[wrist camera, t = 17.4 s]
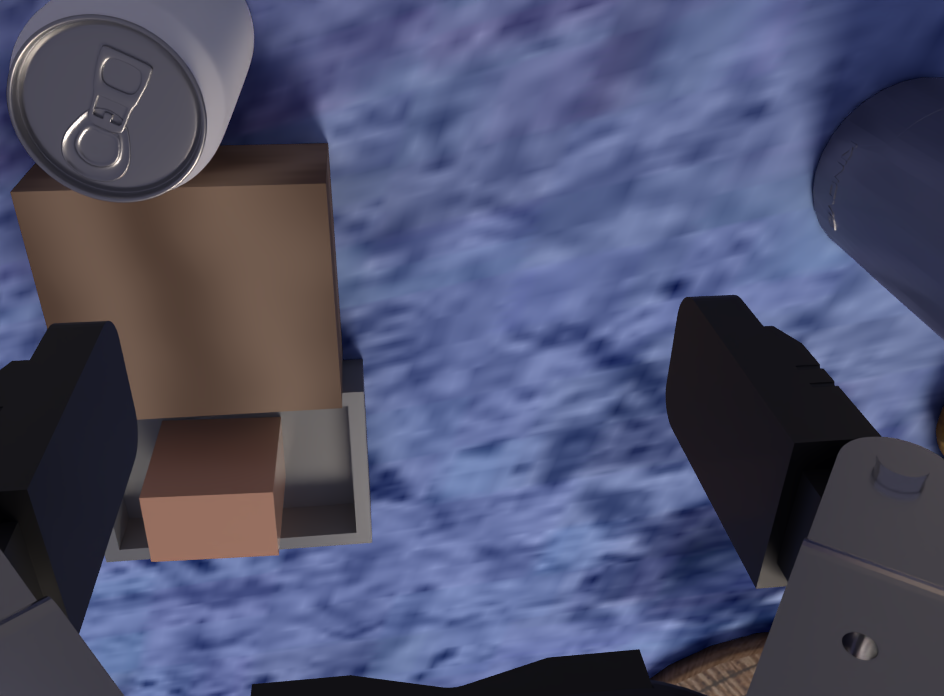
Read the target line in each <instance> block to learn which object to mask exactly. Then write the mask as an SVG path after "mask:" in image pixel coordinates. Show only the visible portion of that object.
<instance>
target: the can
mask: <svg viewBox="0 0 944 696" xmlns="http://www.w3.org/2000/svg"><path fill="white" fill-rule="evenodd" d="M253 49H254V28H253V22H252V18H251V14H250V11H249V8H248V6H247V3H246V1H245V0H51V1H50V2H48V3H47V4H46V5H45V6H43V7H42V8H41V9H40V10H39V11H38V12H37V13H36V14H35V15H34V16H33V17H32V18H31V19H30V20H29V21H28V23H27V24H26V25H25V27H24V28H23V30H22V31H21V33H20V35H19V37H18V39H17V41H16V43H15V46H14V49H13V52H12V56H11V61H10V69H9V75H8V80H7V105H8V111H9V115H10V119H11V122H12V125H13V128H14V130H15V132H16V134H17V136H18V138H19V140H20V142H21V144H22V145H23V147H24V148H25V150H26V151H27V153H28V154H29V155H30V157H31V158H32V159H33V160H34V161H35V162H36V163H37V165H38V166H39V167H40V168H42V169H43V170H44V171H45V172H46V173H47V174H48V175H49V176H51V177H52V178H53V179H55V180H56V181H58V182H59V183H61V184H62V185H64V186H66V187H67V188H69V189H71V190H73V191H75V192H77V193H80V194H82V195H85V196H88V197H91V198H94V199H98V200H103V201H108V202H119V203H129V202H139V201H144V200H148V199H152V198H155V197H158V196H160V195H162V194H164V193H166V192H168V191H170V190H172V189H174V188H177V187H179V186H181V185H183V184H184V183H186V182H188V181H189V180H191V179H192V178H193V177H195V176H196V175H197V174H198V173H199V172H200V171H201V170H202V169H203V168H204V167H205V166H206V165H207V164H208V162H209V161H210V160H211V159H212V157H213V156H214V154H215V153H216V151H217V149H218V147H219V145H220V143H221V141H222V139H223V136H224V134H225V131H226V129H227V126H228V124H229V121H230V119H231V116H232V113H233V111H234V108H235V105H236V103H237V100H238V97H239V95H240V92H241V89H242V86H243V84H244V81H245V78H246V75H247V72H248V69H249V66H250V63H251V59H252V55H253Z"/></svg>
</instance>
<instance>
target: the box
mask: <svg viewBox="0 0 944 696" xmlns="http://www.w3.org/2000/svg"><path fill="white" fill-rule="evenodd" d="M261 417H281V423H282V435H283V448H284V460H285V473H286V479H285V491H284V502H283V513H282V524H281V536H280V547H279V549H292V548H305V547H319V546H333V545H346V544H360V543H372V526H371V501H370V483H369V466H368V448H367V430H366V412H365V394H364V376H363V359H357V360H342V408H337V409H320V410H302V411H284V412H266V413H248V414H230V415H212V416H194V417H176V418H158V419H140V420H137V424H138V447H137V454H136V458H135V462H134V465H133V468H132V471H131V474H130V477H129V480H128V484H127V487H126V490H125V493H124V496H123V499H122V502H121V505H120V508H119V511H118V515H117V518H116V521H115V524H114V527H113V530H112V533H111V536H110V539H109V542H108V546H107V549H106V552H105V558H106V561H107V562H114V561H128V560H142V559H151V557H150V552H149V547H148V541H147V536H146V531H145V526H144V521H143V516H142V511H141V505H140V500H139V497H140V493H141V490H142V487H143V483H144V480H145V477H146V473H147V470H148V467H149V463H150V460H151V457H152V453H153V450H154V447H155V443H156V440H157V437H158V433H159V430H160V426H161V423H162V421H169V420H200V419H231V418H261Z"/></svg>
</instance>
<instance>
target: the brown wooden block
mask: <svg viewBox="0 0 944 696" xmlns="http://www.w3.org/2000/svg"><path fill="white" fill-rule="evenodd" d="M10 193H11V196H12V200H13V204H14V207H15V211H16V215H17V219H18V222H19V226H20V230H21V233H22V237H23V241H24V244H25V248H26V252H27V255H28V259H29V263H30V266H31V270H32V274H33V278H34V281H35V285H36V289H37V292H38V296H39V300H40V303H41V307H42V311H43V314H44V318H45V322H46V325H47V329H48V328H49V326H50V325H51V324H53V323H70V322H93V321H111V322H112V323H113V324H114V325H115V327H116V329H117V332H118V335H119V339H120V344H121V348H122V353H123V357H124V362H125V366H126V371H127V375H128V380H129V384H130V388H131V393H132V397H133V402H134V406H135V411H136V416H137V420H140V419H158V418H176V417H194V416H212V415H230V414H248V413H266V412H284V411H302V410H320V409H337V408H342V355H343V352H342V337H341V323H340V309H339V294H338V280H337V265H336V251H335V237H334V222H333V208H332V193H331V179H330V165H329V150H328V143H314V144H268V145H222V146H219V147H218V149H217V151H216V153H215V154H214V156H213V157H212V159H211V160H210V161H209V162H208V164H207V165H206V166H205V167H204V168H203V169H202V170H201V171H200V172H199V173H198V174H197V175H196V176H195V177H193V178H192V179H191V180H189V181H188V182H186V183H184V184H183V185H181V186H179V187H177V188H174V189H172V190H170V191H168V192H166V193H164V194H162V195H160V196H158V197H155V198H152V199H148V200H144V201H139V202H129V203H119V202H108V201H103V200H98V199H94V198H91V197H88V196H85V195H82V194H80V193H77V192H75V191H73V190H71V189H69V188H67V187H66V186H64V185H62V184H61V183H59V182H58V181H56V180H55V179H53V178H52V177H51V176H49V175H48V174H47V173H46V172H45V171H44V170H43V169H42V168H40V167H39V166H38V165H37V163H35V164H34V165H33V167H32V168H31V169H30V170H29V171H28V172H27V173H26V175H25V176H24V177H23V178H22V179H21V180H20V182H19V183H18V184H17V185H16V186H15V187H14V188H13V190H12V191H11V192H10Z"/></svg>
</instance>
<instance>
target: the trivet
mask: <svg viewBox="0 0 944 696" xmlns="http://www.w3.org/2000/svg"><path fill="white" fill-rule="evenodd" d="M768 635H769V632H764V633H756V634H752V635H749V636H745V637H741V638H738V639H734V640H731V641H727V642H723V643H720V644H716V645H712V646H710V647H708V648H705V649H703V650H701V651H699V652H697V653H695V654H693V655H690V656H688V657H686V658H684V659H682V660H680V661H677V662H675V663H673V664H671V665H669V666H667V667H666V668H665V669H663V670H662V671H660V672H659V673H657V674H656V675H655V676H653V677H652V678H650V680H655V681H661V682H665V683H670V684H674V685H678V686H682V687H685V688H688V689H691V690H694V691H697V692H699V693H702V694H705V695H707V696H746V694H747V691H748V689H749V686H750V683H751V681H752V678H753V675H754V672H755V670H756V667H757V664H758V662H759V659H760V656H761V653H762V651H763V648H764V645H765V643H766V640H767V637H768Z"/></svg>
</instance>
